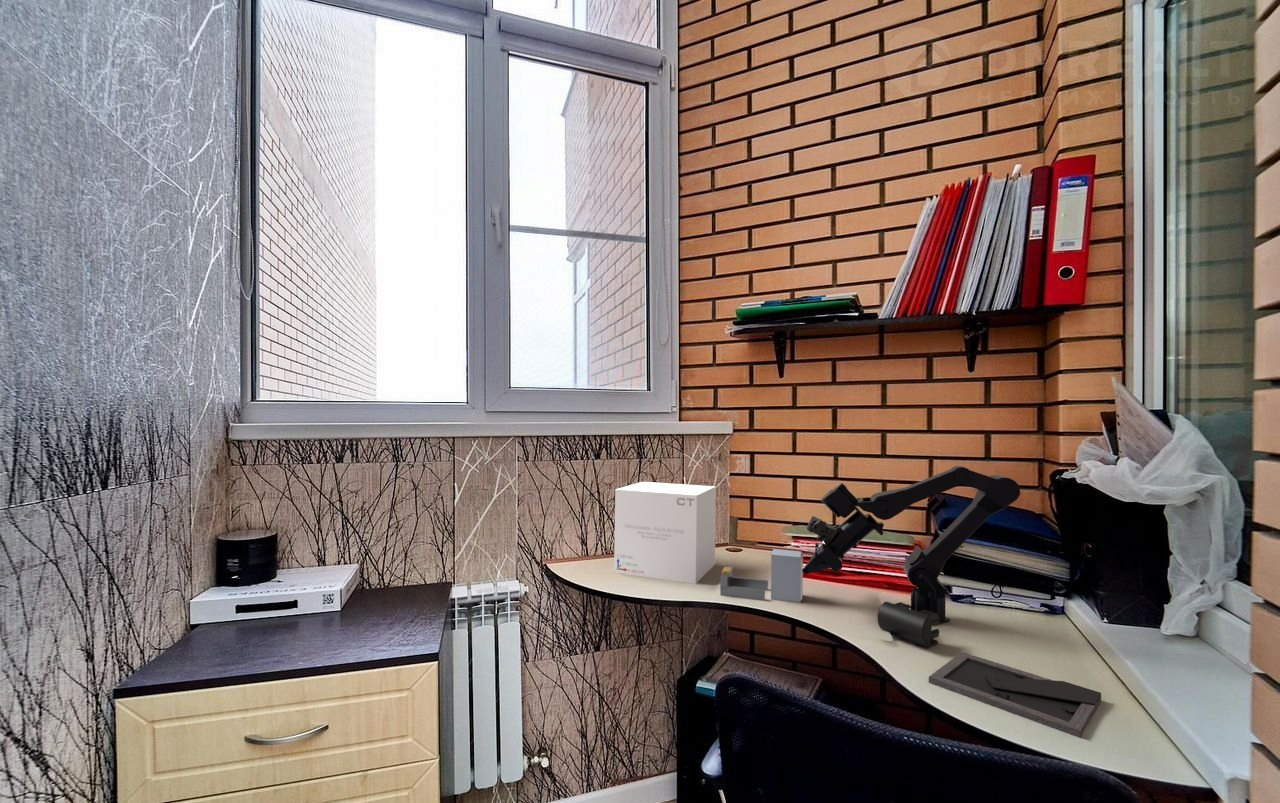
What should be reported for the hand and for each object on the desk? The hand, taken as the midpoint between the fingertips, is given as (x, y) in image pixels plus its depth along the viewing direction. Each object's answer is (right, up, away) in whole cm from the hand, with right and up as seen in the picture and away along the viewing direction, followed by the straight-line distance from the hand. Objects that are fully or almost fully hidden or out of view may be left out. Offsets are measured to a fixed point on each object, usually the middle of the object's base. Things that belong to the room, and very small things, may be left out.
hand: (803, 572), depth 135 cm
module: (-4, -7, +1) cm, 8 cm away
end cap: (+16, -8, -21) cm, 28 cm away
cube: (-33, -8, +29) cm, 45 cm away
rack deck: (-8, -8, +2) cm, 11 cm away
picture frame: (+23, -8, -42) cm, 49 cm away
